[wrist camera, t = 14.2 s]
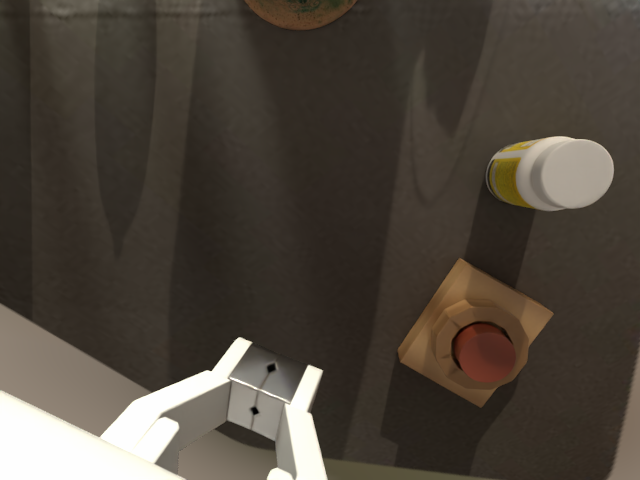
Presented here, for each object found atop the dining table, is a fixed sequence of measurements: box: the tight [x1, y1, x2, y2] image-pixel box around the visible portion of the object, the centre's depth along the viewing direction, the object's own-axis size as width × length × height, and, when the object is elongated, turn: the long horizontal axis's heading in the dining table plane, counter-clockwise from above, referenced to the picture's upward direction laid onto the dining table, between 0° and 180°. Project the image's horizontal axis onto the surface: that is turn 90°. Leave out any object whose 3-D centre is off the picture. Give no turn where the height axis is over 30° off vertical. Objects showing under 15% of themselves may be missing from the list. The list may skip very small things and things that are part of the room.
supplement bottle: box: [486, 136, 614, 211], centre depth 25 cm, size 5×5×8 cm
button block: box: [398, 258, 554, 408], centre depth 30 cm, size 10×8×4 cm
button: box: [454, 323, 516, 383], centre depth 27 cm, size 4×4×2 cm
